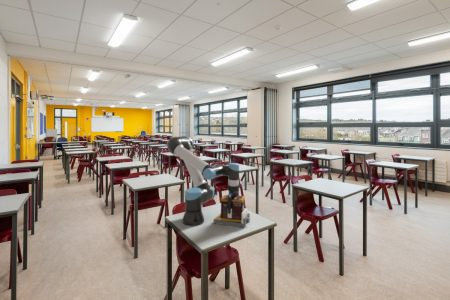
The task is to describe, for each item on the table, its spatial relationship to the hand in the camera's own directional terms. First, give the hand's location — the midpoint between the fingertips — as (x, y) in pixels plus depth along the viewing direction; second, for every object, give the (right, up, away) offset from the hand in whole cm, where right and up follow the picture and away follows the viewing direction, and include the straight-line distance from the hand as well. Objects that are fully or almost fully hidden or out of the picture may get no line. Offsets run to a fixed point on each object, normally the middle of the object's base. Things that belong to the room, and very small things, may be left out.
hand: (233, 214), depth 172 cm
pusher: (+10, -5, -3) cm, 11 cm away
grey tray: (-1, -6, +1) cm, 6 cm away
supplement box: (0, -3, 0) cm, 3 cm away
